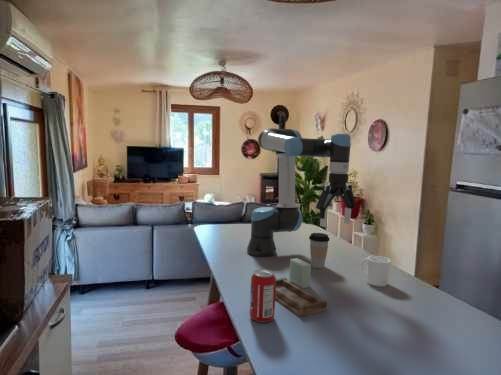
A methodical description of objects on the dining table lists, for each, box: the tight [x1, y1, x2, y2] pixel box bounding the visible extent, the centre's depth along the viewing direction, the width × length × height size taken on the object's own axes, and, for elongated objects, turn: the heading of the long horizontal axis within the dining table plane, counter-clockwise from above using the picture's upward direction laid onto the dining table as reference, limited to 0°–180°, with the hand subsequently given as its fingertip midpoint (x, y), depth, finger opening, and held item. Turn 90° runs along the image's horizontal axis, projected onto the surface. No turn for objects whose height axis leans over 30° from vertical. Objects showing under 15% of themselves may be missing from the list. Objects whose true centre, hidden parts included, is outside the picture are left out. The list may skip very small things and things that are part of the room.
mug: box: [361, 255, 391, 288], centre depth 142 cm, size 11×9×10 cm
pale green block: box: [288, 257, 312, 289], centre depth 139 cm, size 9×4×9 cm, turn 30°
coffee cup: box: [308, 232, 330, 269], centre depth 160 cm, size 9×9×15 cm
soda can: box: [249, 268, 277, 323], centre depth 108 cm, size 8×8×15 cm
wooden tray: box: [275, 277, 328, 318], centre depth 124 cm, size 24×11×3 cm, turn 30°
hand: (335, 225), depth 140 cm, fingers open, 13 cm apart
